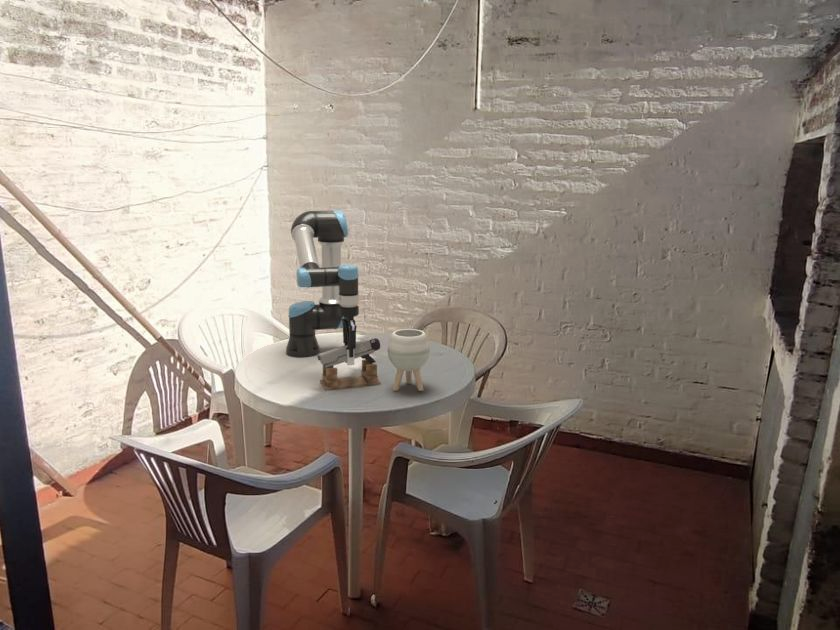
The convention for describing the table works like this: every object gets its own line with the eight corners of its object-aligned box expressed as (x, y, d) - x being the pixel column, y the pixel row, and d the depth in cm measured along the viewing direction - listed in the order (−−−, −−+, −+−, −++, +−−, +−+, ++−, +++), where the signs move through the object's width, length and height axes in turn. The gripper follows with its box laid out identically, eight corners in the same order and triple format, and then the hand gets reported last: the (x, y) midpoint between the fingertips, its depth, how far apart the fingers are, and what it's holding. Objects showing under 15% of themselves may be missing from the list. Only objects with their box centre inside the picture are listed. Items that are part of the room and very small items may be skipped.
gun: (384, 359, 254) (379, 336, 251) (324, 379, 247) (317, 356, 244) (382, 357, 257) (377, 334, 254) (323, 377, 250) (316, 354, 247)
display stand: (325, 390, 245) (324, 370, 243) (320, 382, 254) (319, 363, 252) (380, 384, 252) (380, 365, 250) (373, 376, 261) (373, 357, 259)
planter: (434, 393, 243) (435, 336, 238) (393, 397, 238) (393, 339, 233) (422, 380, 258) (422, 326, 253) (383, 383, 253) (383, 329, 248)
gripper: (334, 301, 252) (335, 359, 257) (344, 310, 237) (345, 370, 243) (353, 300, 254) (354, 357, 259) (363, 308, 240) (364, 368, 245)
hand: (349, 363), depth 251 cm, fingers closed on gun, 2 cm apart
